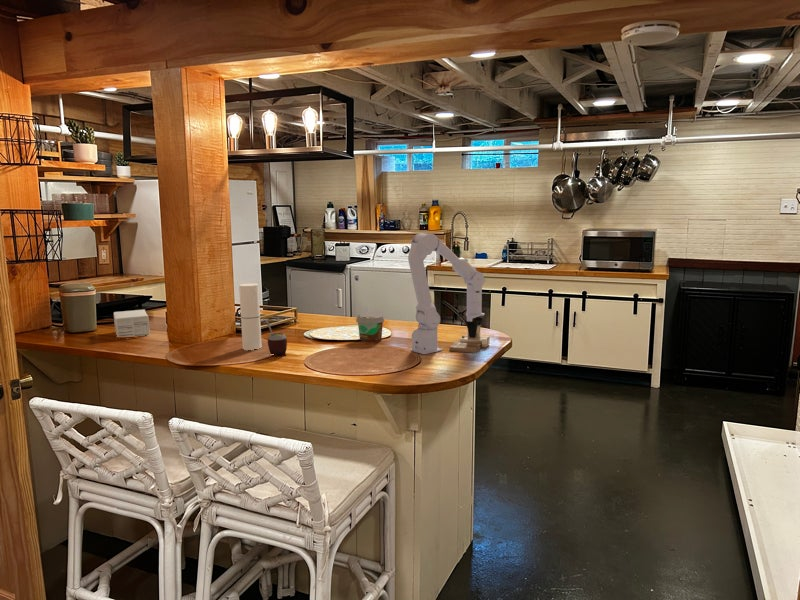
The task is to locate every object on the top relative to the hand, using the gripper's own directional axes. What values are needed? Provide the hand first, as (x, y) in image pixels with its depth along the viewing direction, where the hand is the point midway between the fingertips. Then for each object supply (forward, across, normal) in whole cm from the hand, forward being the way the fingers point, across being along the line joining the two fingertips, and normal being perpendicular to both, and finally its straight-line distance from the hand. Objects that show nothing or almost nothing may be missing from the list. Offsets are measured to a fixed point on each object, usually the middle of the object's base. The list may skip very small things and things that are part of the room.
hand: (473, 336), depth 226 cm
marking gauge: (+3, 0, 0) cm, 3 cm away
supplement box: (+4, -27, +147) cm, 149 cm away
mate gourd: (+4, -39, +65) cm, 75 cm away
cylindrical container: (+4, -32, +80) cm, 87 cm away
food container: (+4, -6, +43) cm, 43 cm away
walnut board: (+4, -1, +2) cm, 4 cm away
